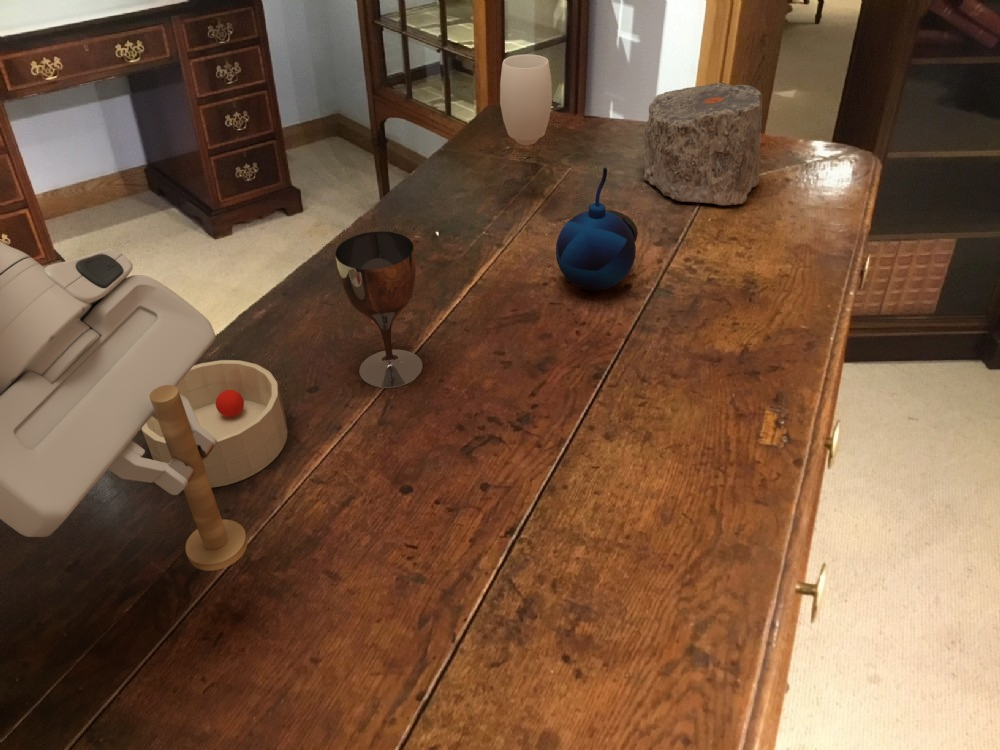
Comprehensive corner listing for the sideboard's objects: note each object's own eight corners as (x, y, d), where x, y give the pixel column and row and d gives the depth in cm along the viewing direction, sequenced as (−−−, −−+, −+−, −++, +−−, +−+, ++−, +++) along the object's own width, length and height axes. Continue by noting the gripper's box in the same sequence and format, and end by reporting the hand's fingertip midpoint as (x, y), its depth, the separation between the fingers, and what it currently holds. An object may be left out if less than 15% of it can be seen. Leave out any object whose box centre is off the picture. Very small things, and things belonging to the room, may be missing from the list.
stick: (178, 569, 63) (116, 414, 54) (200, 525, 66) (144, 371, 57) (236, 572, 62) (183, 416, 53) (255, 527, 66) (208, 373, 57)
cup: (493, 204, 127) (487, 63, 115) (525, 187, 132) (522, 49, 119) (530, 217, 123) (528, 73, 111) (561, 200, 128) (563, 59, 115)
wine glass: (435, 379, 93) (423, 259, 84) (365, 397, 91) (345, 276, 82) (414, 341, 99) (401, 225, 90) (347, 358, 97) (327, 240, 88)
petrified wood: (637, 159, 139) (643, 65, 130) (745, 157, 138) (758, 63, 129) (648, 210, 124) (656, 109, 115) (769, 209, 123) (786, 106, 114)
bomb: (650, 273, 110) (659, 163, 101) (610, 313, 103) (616, 198, 94) (583, 255, 114) (586, 148, 105) (541, 291, 107) (540, 180, 98)
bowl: (131, 486, 82) (114, 443, 78) (183, 399, 92) (169, 358, 89) (265, 490, 80) (253, 447, 77) (302, 402, 91) (293, 361, 88)
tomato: (215, 422, 88) (208, 400, 86) (224, 404, 90) (218, 384, 88) (241, 422, 88) (235, 401, 86) (250, 405, 90) (244, 384, 88)
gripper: (-84, 420, 45) (135, 568, 49) (128, 236, 61) (281, 360, 65) (-115, 470, 49) (92, 604, 53) (93, 284, 64) (240, 399, 69)
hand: (197, 468), depth 59 cm, fingers closed on stick, 2 cm apart
